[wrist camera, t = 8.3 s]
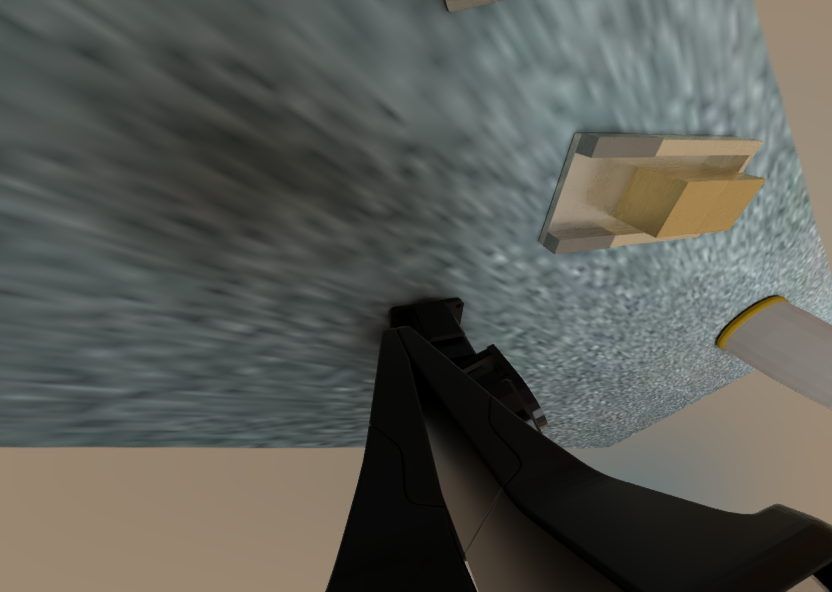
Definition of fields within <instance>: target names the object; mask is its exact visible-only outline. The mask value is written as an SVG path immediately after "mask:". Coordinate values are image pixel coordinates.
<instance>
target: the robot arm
mask: <svg viewBox="0 0 832 592" xmlns="http://www.w3.org/2000/svg"><path fill="white" fill-rule="evenodd" d="M457 304H458V305H457ZM463 306H464V303H463V302H462V300H461V299H451V300H444V301H437V302H430V303H424V304H417V305H410V306H403V307H396V308H393V309H391V311H390V313H389V329H385V330H383V331H382V336H381V343H380V350H379V357H378V365H377V372H376V379H375V386H374V393H373V400H372V407H371V414H370V421H369V427H368V434H367V441H366V447H365V453H364V458H363V463H362V467H361V471H360V476H359V479H358V483H357V487H356V491H355V494H354V498H353V501H352V505H351V509H350V512H349V516H348V519H347V523H346V526H345V530H344V534H343V538H342V541H341V545H340V548H339V551H338V555H337V558H336V562H335V565H334V568H333V571H332V574H331V577H330V580H329V583H328V585H327V588H326V591H325V592H477V590H476V588H475V586H474V583H473V581H472V579H471V576H470V574H469V572H468V569H467V567H466V565H465V561H468V564H469V567H470V570H471V572H472V575H473V578H474V580H475V583H476V586H477V588H478V591H479V592H832V525H831V524H828V523H826V522H824V521H822V520H820V519H818V518H815V517H813V516H811V515H808V514H806V513H803V512H800V511H797V510H794V509H792V508H789V507H786V506H784V505H781V504H774V505H772V506H769V507H767V508H765V509H763V510H761V511H759V512H757V513H755V514H739V513H733V512H727V511H723V510H719V509H715V508H711V507H708V506H705V505H702V504H698V503H695V502H692V501H688V500H685V499H682V498H678V497H675V496H672V495H668V494H665V493H662V492H658V491H655V490H651V489H648V488H645V487H642V486H638V485H635V484H632V483H629V482H625V481H622V480H618V479H616V478H613V477H610V476H608V475H605V474H603V473H601V472H599V471H597V470H595V469H593V468H591V467H590V466H588V465H586V464H585V463H583V462H582V461H580V460H579V459H577V458H576V457H574V456H573V455H571V454H570V453H569V452H567V451H565V450H564V449H563V448H562V447H560V446H559V445H557V444H556V443H554V442H553V441H551V440H550V439H549V438H547V437H546V436H544V435H543V434H542V432H541V430H540V429H542V428H544V427H546V426H548V423H547V420H546V418H545V416H544V413H543V411H542V409H541V408H540V406H539V404H538V402H537V400H536V399H535V397H534V395H533V394H532V392H531V391H530V389H529V388H528V386H527V385H526V383H525V382H524V380H523V379H522V378H521V377H520V375H519V374H518V373H517V372H516V370H515V369H514V368H513V367H512V366H511V364H510V363H509V362H508V361H507V360H506V358H505V357H504V356H503V355H502V354H501V352H500V351H499V350H498V349H497V348H496V346H495V345H494V344H492V345H490V346H488V347H487V349H485V350H483V351H481V352H479V353H477V354H476V352H475V351H474V349H473V347H472V346H471V344H470V342H469V341H468V339H467V337H466V336H465V333H464V331H463V329H462V328H461V326H460V322H461V316H462V311H463ZM395 313H398V314H396V315H394V314H395Z"/></svg>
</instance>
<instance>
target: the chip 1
mask: <svg viewBox="0 0 832 592" xmlns="http://www.w3.org/2000/svg"><path fill="white" fill-rule="evenodd" d="M729 181H730V180H728V179H724V178H720V177H716V176H713V175H709V174H705V173H702V172H698V171H694V170H691V169H687V168H683V167H680V166H676V165H666V166H637V167H636V169H635V171H634V173H633V175H632V177H631V179H630V181H629V184H628V186H627V188H626V190H625V192H624V194H623V196H622V198H621V201H620V203H619V205H618V207H617V209H616V211H615V213H614V215H613V217H614V218H616V219H618V220H620V221H622V222H624V223H626V224H628V225H630V226H632V227H634V228H636V229H638V230H640V231H642V232H644V233H647V234H649V235H651V236H653V237H655V238H661V237H670V236H679V235H687V234H694V233H695V232H696V230H697V229H698V227H699V226H700V224H701V223H702V221H703V220H704V218H705V217H706V215H707V214H708V212H709V211H710V209H711V208H712V206H713V205H714V203H715V202H716V200H717V199H718V197H719V196H720V194H721V193H722V191H723V190H724V188H725V187H726V185H727V184H728V182H729Z"/></svg>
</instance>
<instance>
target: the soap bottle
mask: <svg viewBox="0 0 832 592" xmlns="http://www.w3.org/2000/svg"><path fill="white" fill-rule="evenodd" d="M788 302H789V301H788V300H787V299H786V298H784V297H781V296H776V297H771V298H768V299H766V300H764V301H762V302H760V303H757V304H755V305H754V306H752V307H751V308H749V309H748V310H746V311H744V312H743V313H742V314H740V315H739V316H738V317H737V318H736V319H734V320H733V321H732V322H731V323H730V324H729V325H728V326H727V327H726V328H725V329H724V331H723V332H722V334H721V335H720V337H719V339H718V341H717V346H718V347H719V348H720V349H723V350H727V351H729V352H730V353H732V354H733V355H735V356H736V357H738V358H739V359H741V360H742V361H744V362H745V363H747V364H749V365H750V366H752V367H754V368H755V369H757V370H759V371H760V372H762V373H764V374H765V375H767V376H769V377H771V378H772V379H774V380H776V381H777V382H779V383H781V384H783V385H785V386H787V387H789V388H790V389H792V390H794V391H796V392H798V393H800V394H801V395H803V396H805V397H807V398H809V399H811V400H813V401H815V402H817V403H819V404H821V405H823V406H825V407H827V408H829V409H831V410H832V325H830V324H829V323H827V322H825V321H823V320H821V319H820V318H818V317H816V316H814V315H812V314H811V313H809V312H807V311H804V310H802V309H800V308H798V307H796V306H794V305H792V304H790V303H788Z"/></svg>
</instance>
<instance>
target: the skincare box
mask: <svg viewBox="0 0 832 592" xmlns="http://www.w3.org/2000/svg"><path fill="white" fill-rule="evenodd" d="M445 1H446V4H447V8H448V10H449V11H450V12H453V11H458V10H463V9H468V8H471V7H477V6H481V5H485V4H490V3H494V2H499V1H503V0H445Z"/></svg>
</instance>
